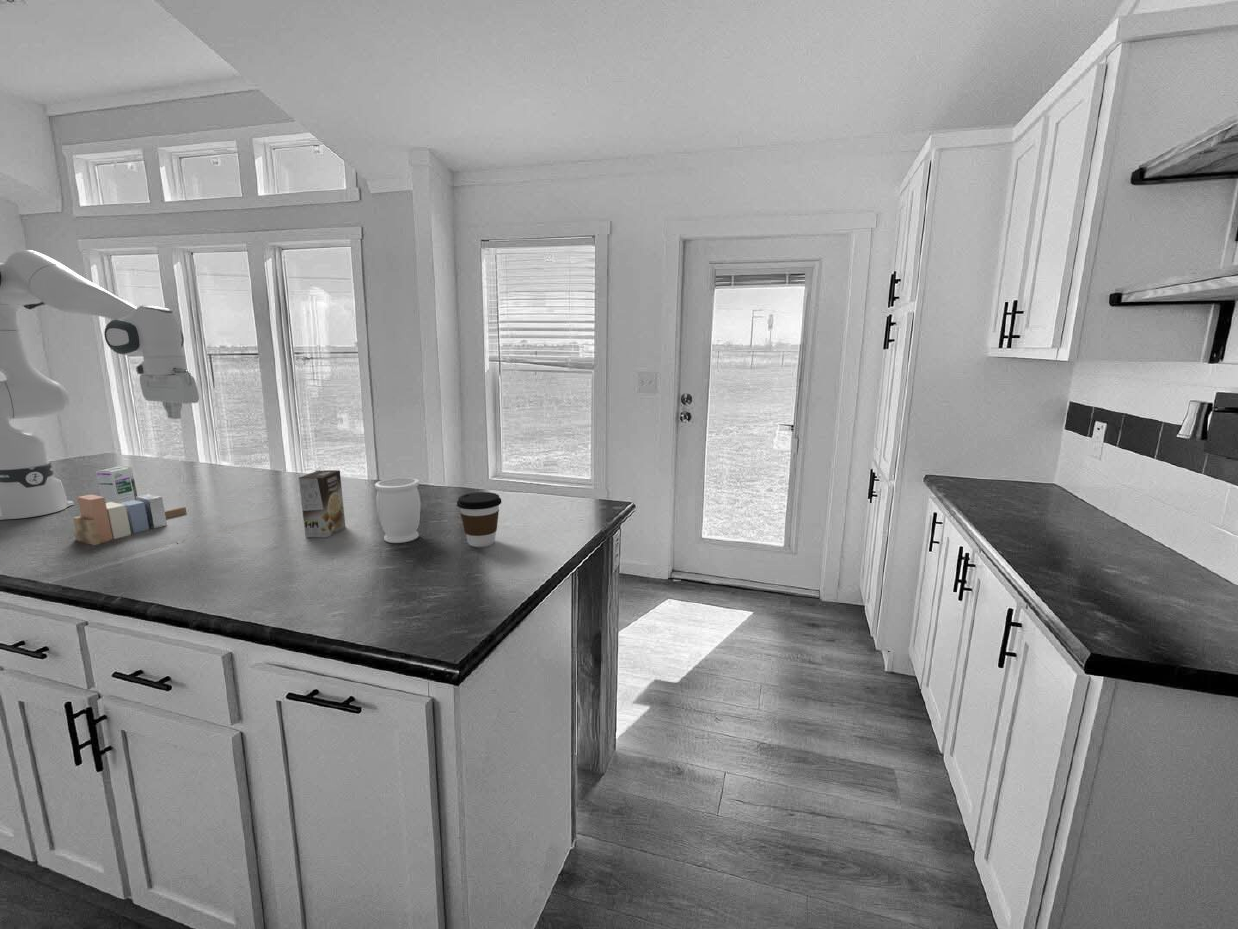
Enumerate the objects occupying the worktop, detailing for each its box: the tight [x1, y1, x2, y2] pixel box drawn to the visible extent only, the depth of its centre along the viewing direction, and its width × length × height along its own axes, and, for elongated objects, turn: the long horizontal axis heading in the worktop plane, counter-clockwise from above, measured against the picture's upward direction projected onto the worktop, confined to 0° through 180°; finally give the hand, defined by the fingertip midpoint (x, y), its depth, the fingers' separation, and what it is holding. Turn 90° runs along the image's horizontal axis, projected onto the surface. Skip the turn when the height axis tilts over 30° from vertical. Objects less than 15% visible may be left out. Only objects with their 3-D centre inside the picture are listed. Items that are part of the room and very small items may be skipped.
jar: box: [374, 477, 421, 544], centre depth 147 cm, size 11×10×15 cm
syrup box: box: [95, 466, 138, 503], centre depth 165 cm, size 6×6×14 cm
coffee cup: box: [456, 491, 502, 548], centre depth 144 cm, size 11×11×12 cm
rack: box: [72, 506, 187, 546], centre depth 153 cm, size 9×25×7 cm, turn 155°
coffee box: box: [298, 469, 346, 539], centre depth 151 cm, size 9×6×16 cm
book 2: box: [106, 502, 132, 540], centre depth 147 cm, size 7×4×8 cm, turn 65°
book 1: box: [76, 494, 113, 542], centre depth 144 cm, size 6×3×11 cm, turn 65°
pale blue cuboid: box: [118, 500, 150, 534], centre depth 151 cm, size 5×3×8 cm, turn 65°
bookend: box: [136, 494, 168, 529], centre depth 155 cm, size 7×3×8 cm, turn 65°
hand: (174, 418), depth 158 cm, fingers closed
